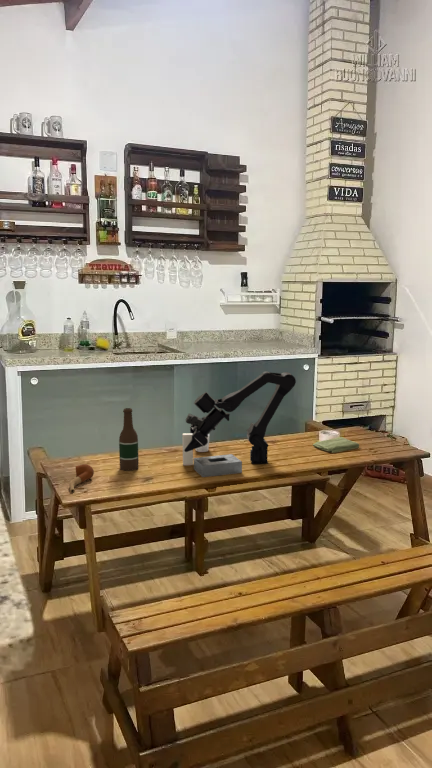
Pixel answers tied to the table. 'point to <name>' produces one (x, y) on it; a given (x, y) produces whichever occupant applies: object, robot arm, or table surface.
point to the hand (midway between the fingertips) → (184, 448)
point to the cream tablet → (188, 455)
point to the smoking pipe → (81, 475)
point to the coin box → (217, 465)
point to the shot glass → (204, 448)
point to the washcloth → (336, 445)
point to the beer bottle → (128, 443)
